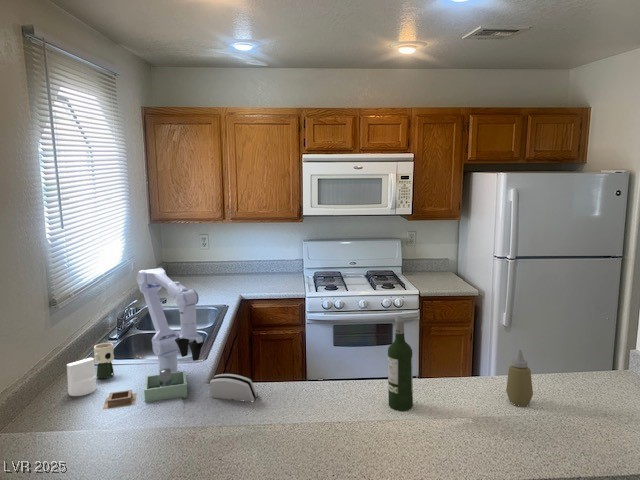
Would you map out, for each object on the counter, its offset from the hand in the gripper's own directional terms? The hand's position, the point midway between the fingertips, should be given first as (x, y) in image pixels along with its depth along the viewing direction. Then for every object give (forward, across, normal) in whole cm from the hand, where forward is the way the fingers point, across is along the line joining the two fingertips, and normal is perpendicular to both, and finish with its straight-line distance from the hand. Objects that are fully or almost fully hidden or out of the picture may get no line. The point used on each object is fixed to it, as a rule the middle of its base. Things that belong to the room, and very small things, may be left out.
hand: (190, 358), depth 170 cm
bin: (+10, 0, -10) cm, 15 cm away
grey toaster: (+11, +22, +2) cm, 25 cm away
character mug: (+10, -35, -17) cm, 40 cm away
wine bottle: (+11, +72, +32) cm, 79 cm away
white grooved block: (+10, -25, -29) cm, 40 cm away
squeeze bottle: (+11, +101, +58) cm, 117 cm away
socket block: (+10, -5, -25) cm, 27 cm away
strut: (+10, 0, -10) cm, 14 cm away
